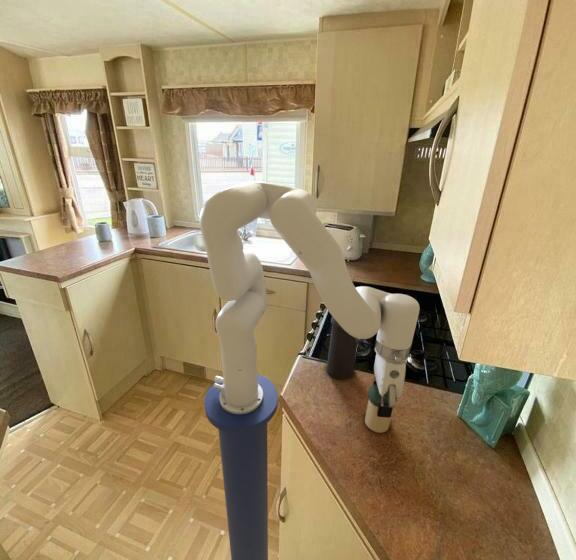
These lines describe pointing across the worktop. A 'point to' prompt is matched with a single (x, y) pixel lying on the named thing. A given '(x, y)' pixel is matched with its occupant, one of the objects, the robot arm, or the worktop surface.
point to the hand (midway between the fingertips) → (380, 403)
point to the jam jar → (376, 419)
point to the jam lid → (376, 395)
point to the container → (341, 352)
